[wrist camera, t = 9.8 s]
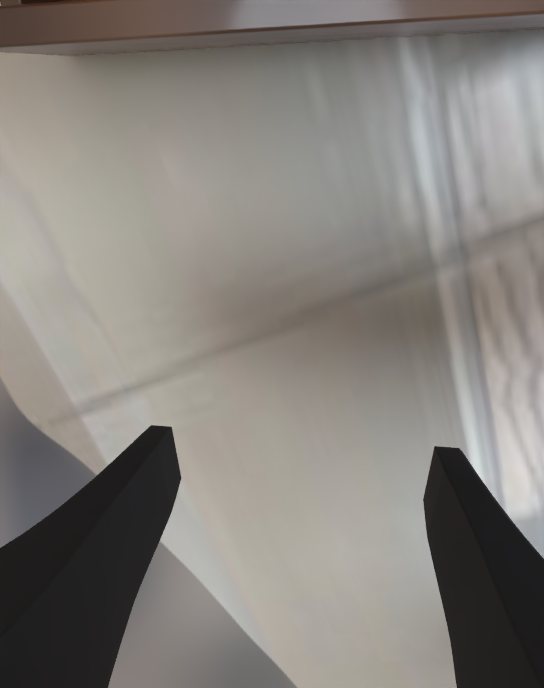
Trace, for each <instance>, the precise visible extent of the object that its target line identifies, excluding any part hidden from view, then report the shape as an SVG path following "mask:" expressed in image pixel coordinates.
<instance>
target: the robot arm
mask: <svg viewBox="0 0 544 688" xmlns="http://www.w3.org/2000/svg"><path fill="white" fill-rule="evenodd" d="M180 480H181V474H180V469H179V463H178V458H177V453H176V448H175V442H174V437H173V432H172V427H166V426H153V425H151V426H150V427H149V428H148V429H147V430H146V431H144V432H143V433H142V434H141V435H140V436H139V437H138V438H137V439H136V440H135V441H134V442H133V443H132V444H131V445H130V446H129V447H127V448H126V449H125V450H124V451H123V452H122V453H121V454H120V455H119V456H118V457H117V458H116V459H115V460H114V461H113V462H111V463H110V464H109V465H108V466H107V467H106V468H105V469H104V470H103V471H102V472H100V473H99V474H98V475H97V476H96V477H95V478H94V479H93V480H92V481H90V482H89V483H88V484H87V485H86V486H84V488H82V489H81V490H80V491H79V492H77V493H76V494H75V495H74V496H73V497H71V498H70V499H69V500H68V501H67V502H65V503H64V504H63V505H62V506H60V507H59V508H58V509H56V510H55V511H54V512H52V513H51V514H50V515H49V516H47V517H46V518H44V519H43V520H42V521H40V522H39V523H37V524H36V525H35V526H33V527H32V528H30V529H29V530H28V531H26V532H25V533H23V534H22V535H20V536H19V537H17V538H15V539H14V540H12V541H11V542H9V543H8V544H6V545H5V546H3V547H1V548H0V688H108V685H109V681H110V678H111V675H112V671H113V668H114V664H115V661H116V658H117V654H118V651H119V647H120V644H121V641H122V638H123V635H124V632H125V629H126V625H127V622H128V619H129V616H130V613H131V610H132V607H133V604H134V601H135V598H136V595H137V593H138V590H139V588H140V585H141V583H142V581H143V578H144V576H145V574H146V571H147V569H148V566H149V564H150V562H151V559H152V557H153V554H154V552H155V550H156V548H157V545H158V543H159V541H160V538H161V536H162V534H163V531H164V529H165V526H166V524H167V522H168V519H169V517H170V514H171V512H172V509H173V505H174V502H175V499H176V495H177V491H178V488H179V484H180ZM423 501H424V511H425V521H426V529H427V537H428V542H429V547H430V551H431V556H432V560H433V564H434V569H435V573H436V578H437V582H438V586H439V591H440V595H441V599H442V604H443V608H444V612H445V617H446V621H447V626H448V631H449V636H450V642H451V647H452V655H453V662H454V669H455V677H456V684H457V688H544V559H543V558H542V556H541V555H540V554H539V553H538V552H537V551H536V549H535V548H534V547H533V546H532V545H531V544H530V542H529V541H528V540H527V539H526V538H525V536H524V535H523V534H522V533H521V532H520V530H519V529H518V528H517V527H516V525H515V524H514V523H513V522H512V520H511V519H510V518H509V516H508V515H507V514H506V513H505V511H504V510H503V509H502V507H501V506H500V505H499V503H498V502H497V501H496V499H495V498H494V497H493V495H492V494H491V493H490V491H489V490H488V488H487V487H486V486H485V484H484V483H483V481H482V480H481V479H480V477H479V476H478V474H477V473H476V471H475V470H474V468H473V467H472V465H471V464H470V462H469V461H468V459H467V458H466V456H465V455H464V453H463V452H462V451H461V450H460V449H459V448H450V447H437V446H435V447H434V452H433V457H432V461H431V466H430V471H429V475H428V480H427V485H426V489H425V494H424V499H423Z"/></svg>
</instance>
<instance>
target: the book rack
mask: <svg viewBox="0 0 544 688" xmlns="http://www.w3.org/2000/svg"><path fill="white" fill-rule="evenodd" d="M0 3H1V6H0V52H5V53H25V54H46V55H64V56H77V55H95V54H112V53H129V52H147V51H164V50H182V49H199V48H216V47H234V46H251V45H268V44H286V43H303V42H320V41H338V40H355V39H372V38H390V37H407V36H425V35H442V34H459V33H477V32H494V31H511V30H529V29H544V0H0Z"/></svg>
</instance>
